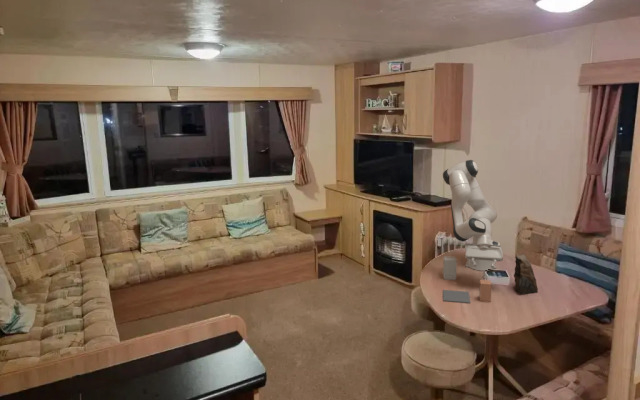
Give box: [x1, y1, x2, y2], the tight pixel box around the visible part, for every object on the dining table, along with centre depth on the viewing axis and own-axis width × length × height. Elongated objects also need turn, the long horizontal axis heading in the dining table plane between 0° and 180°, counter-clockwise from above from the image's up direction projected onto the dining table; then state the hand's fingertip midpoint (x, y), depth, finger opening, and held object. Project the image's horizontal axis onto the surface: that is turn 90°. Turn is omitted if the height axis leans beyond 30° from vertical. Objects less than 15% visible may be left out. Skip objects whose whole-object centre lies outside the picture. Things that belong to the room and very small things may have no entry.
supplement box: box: [442, 255, 458, 281], centre depth 267 cm, size 7×7×13 cm
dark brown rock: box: [513, 253, 539, 296], centre depth 246 cm, size 13×13×20 cm
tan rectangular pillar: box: [478, 279, 493, 303], centre depth 236 cm, size 5×5×10 cm
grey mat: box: [442, 289, 471, 304], centre depth 241 cm, size 14×14×1 cm
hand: (483, 266), depth 244 cm, fingers open, 8 cm apart
